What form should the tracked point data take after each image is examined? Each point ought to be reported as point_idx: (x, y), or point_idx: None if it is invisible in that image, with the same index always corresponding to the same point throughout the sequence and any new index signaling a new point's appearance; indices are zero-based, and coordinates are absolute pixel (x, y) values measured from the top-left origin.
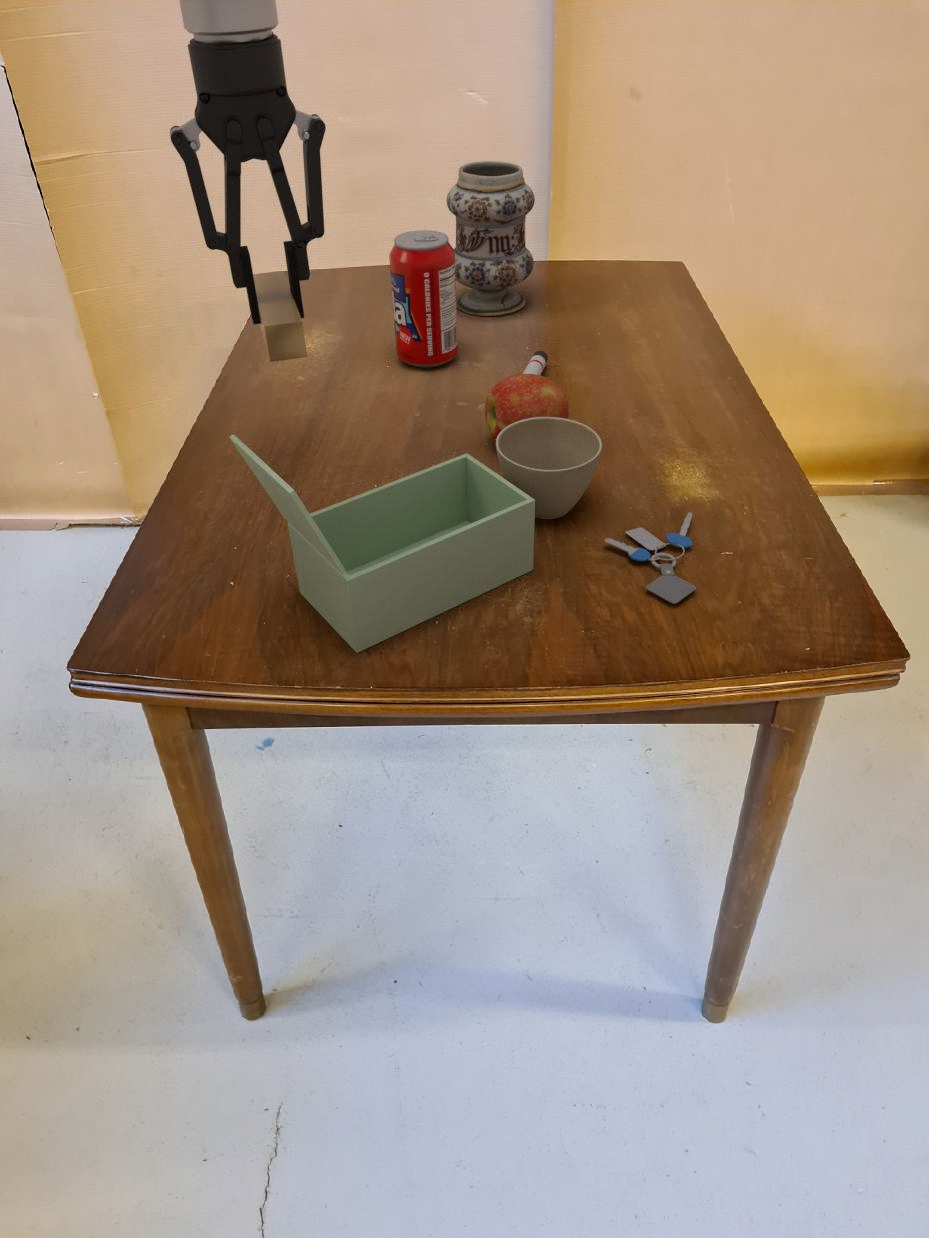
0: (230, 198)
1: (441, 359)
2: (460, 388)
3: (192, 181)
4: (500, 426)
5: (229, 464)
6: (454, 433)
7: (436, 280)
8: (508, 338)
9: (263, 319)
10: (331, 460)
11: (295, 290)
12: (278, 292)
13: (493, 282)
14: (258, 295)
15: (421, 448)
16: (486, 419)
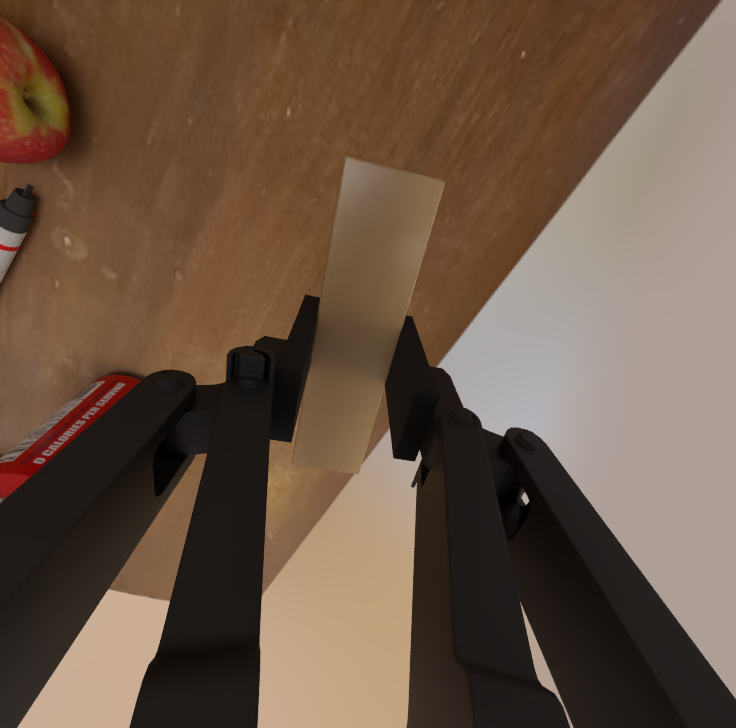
0: (493, 553)
1: (111, 377)
2: (103, 314)
3: (707, 676)
4: (30, 52)
5: (439, 280)
6: (137, 198)
7: (29, 450)
8: (12, 404)
9: (429, 226)
10: (323, 220)
11: (308, 321)
12: (337, 368)
13: None
14: (382, 373)
15: (195, 182)
16: (62, 130)
